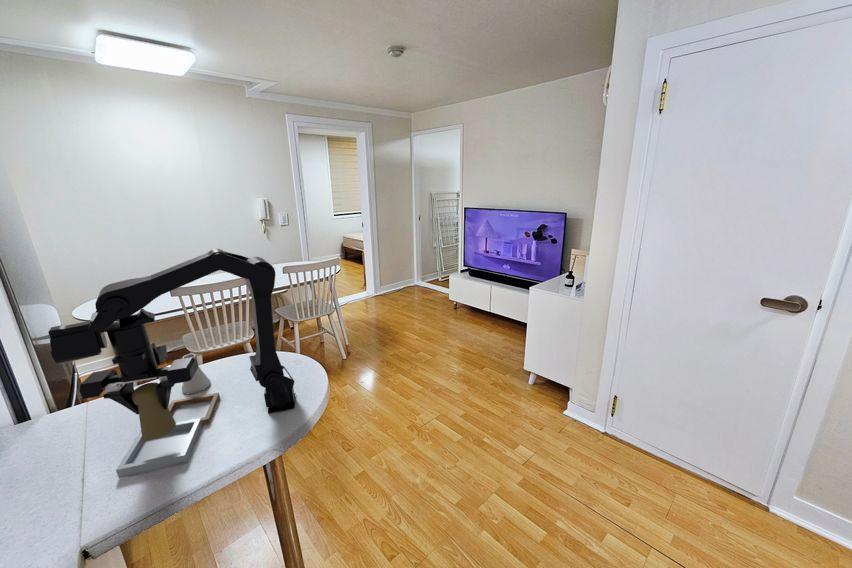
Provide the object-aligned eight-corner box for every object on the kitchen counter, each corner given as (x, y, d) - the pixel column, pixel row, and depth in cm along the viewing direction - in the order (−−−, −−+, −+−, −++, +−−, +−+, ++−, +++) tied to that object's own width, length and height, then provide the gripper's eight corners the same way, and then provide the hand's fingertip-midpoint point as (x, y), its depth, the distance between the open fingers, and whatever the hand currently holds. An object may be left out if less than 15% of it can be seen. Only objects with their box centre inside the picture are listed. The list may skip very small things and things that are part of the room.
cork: (158, 441, 72) (143, 397, 68) (134, 437, 73) (119, 394, 70) (182, 421, 78) (170, 380, 74) (160, 418, 79) (147, 377, 75)
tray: (202, 425, 84) (200, 417, 83) (187, 463, 73) (184, 455, 73) (144, 436, 81) (141, 429, 80) (119, 478, 70) (115, 470, 69)
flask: (204, 376, 104) (197, 347, 101) (216, 385, 100) (208, 354, 97) (177, 388, 98) (168, 357, 95) (188, 397, 94) (179, 366, 91)
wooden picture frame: (220, 397, 94) (218, 392, 94) (209, 423, 85) (208, 418, 84) (173, 405, 91) (172, 400, 91) (156, 434, 81) (155, 429, 81)
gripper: (197, 322, 79) (212, 381, 84) (97, 335, 73) (119, 396, 78) (181, 345, 69) (198, 410, 74) (63, 362, 63) (91, 430, 68)
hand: (153, 410), depth 74 cm, fingers closed on cork, 5 cm apart
